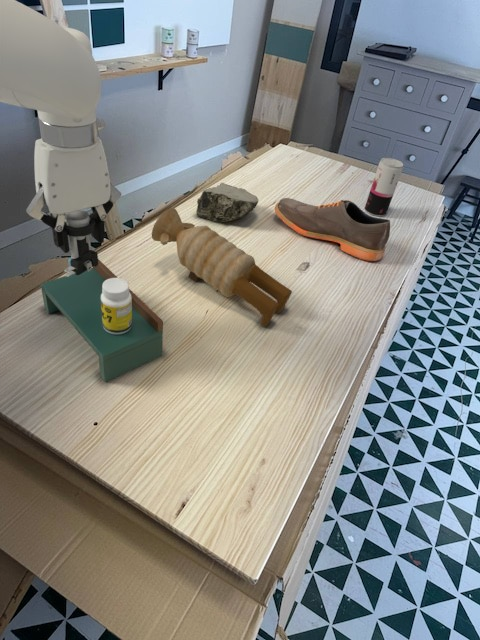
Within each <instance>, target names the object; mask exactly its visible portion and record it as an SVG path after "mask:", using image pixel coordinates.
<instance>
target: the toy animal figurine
mask: <svg viewBox="0 0 480 640" xmlns="http://www.w3.org/2000/svg"><path fill="white" fill-rule="evenodd" d="M151 239H152V240H153V241H154V242H160V244H161V245H162V246H166V245H168V243H174V242H175V243H176V251H177V258H178V261H179V263H180V265H181V266H183V267H185V268H186V269H187V270H188V271H189V274H188V278H189V279H190V280H192V281H193V282H195V283H197V282H199V281H200V280H201V279H202V280H203V282H204V283H206V284H208V285H210V286H211V287H212V288H213V289H214V290H215V291H216V293H218V292H220V294H221V295H222V296H224V297H227V298H231V297H233V296H235V295H236V296H238V297H239V298H241V299H242V300H243V301H245V302H246V303H248V305H251V306H252V307H253V308H254V309H255V310H257V311H258V313H259V314H260V315H261V316H262V320H261V322H260V326H262V327H263V328H265V327H267V326H268V325H269V324H270V323H271V321H272V319H273V317H274V315H275V314H277V315H279V314H280V313H281V312H282V311H283V310H284V309H285V307H286V305H287V303H288V301H289V299H290V297H291V295H292V294H293V291H292V290H291V289H290V288H288V287H287V286H286V285H284V284H282V283H281V282H280V281H278V280H276V279H275V278H274V277H273V276H271V275H270V274H268V273H267V272H265V271H264V269H261V267H259V266H258V265H257V264H256V260H255V258H254V256H252V255H250V254H248V253H246V252H245V251H244V250H243V249H241V248H240V247H238V246H237V245H235V244H234V243H233V242H231V241H229V240H228V239H227V238H225V237H224V236H221V235H220V234H219V233H218V232H217V231H215V230H213V229H211V228H210V227H209V226H208V225H197V226H195V224H193V223H191V222H183V221H182V219H181V216H180V214H179V212H178V210H177V208H174V207H171V208H168V209H165V210H164V211H162V213H161V214H160V215H159V217H158V218H157V219H156V221H155V222H154V224H153V227H152V230H151Z"/></svg>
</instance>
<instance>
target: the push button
mask: <svg viewBox="0 0 480 640" xmlns="http://www.w3.org/2000/svg"><path fill="white" fill-rule="evenodd" d="M94 225H95V219H94V217H92V216H91V215H90V213H88V212H87V211H85V210H83V209H82V210H77V211H73V212H68V213H66V217H65V222H64V228H65V229H66V230H67V233H68V240H69V247H70V252H71V254H70V257H69V258H68V259H67V263H68V267H67V268H65V269H64V270H63V272H65V274H64V276H66V277H69V276H71V275H72V274H73V275H74V274H76V275H80V274H82V273H83V272H85V271H86V270H87V271H88V272H89V271H90V270H92V268H93V266H95V267H96V266H97V265H98V259H99V255H98V252H97V251H95V250H93V247H92V246H91V245H92V244H91V236H90V235H91V233H92V232H93V231H94Z"/></svg>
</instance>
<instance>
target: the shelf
mask: <svg viewBox="0 0 480 640" xmlns="http://www.w3.org/2000/svg"><path fill="white" fill-rule="evenodd" d="M110 278H119V277H118V276H117V275H116V274H115V273H114V272H113V271H112V270H110V268H108V266H106V264H104V263H103V262H102V260H100V259H99V258H98V265H97V266H96V267H95V266H93V267H92V270H90V271H89V272H88V271H87V270H86V271H85V272H83V273H82V274H80V275H76V274H74V275H73V274H72V275H71V276H69V277H66V276H65V275H64V276H61V277H57V278H55V279H54V278H53V279H51V280H49V281H44V282H42V283H40V288H41V293H42V300H43V305H44V306H43V307H44V310H45V311H46V313H47V314H49V315H51V314H53V313H55V312H59V311H60V313H61V314H62V315H63V316H64V317H65V318H66V320H67V321H68V322H69V323H70V324H71V325H72V327H73V328H74V329H75V330H76V331H77V332H78V334H80V336H81V337H82V338H83V340H84V341H85V342H86V343H87V344H88V345H89V347H90V348H91V349H92V350H93V351H94V352H95V354H96V355H97V356H98V363H99V364H98V367H99V377H100V378H101V379H102V381H103V382H104V383H107V382H109V381H111V380H113V379H116V378H118V377H121V376H122V375H124V374H125V373H128V372H130V371H132V370H134V369H136V368H138V367H141V366H143V365H145V364H147V363H149V362H152V361H154V360H155V359H158V358H160V357H162V356H163V338H164V337H163V334H164V320H162V318H161V317H159V316H158V314H156V313H155V312H154V311H153V310H152V309H151V307H149V306H148V305H147V304H146V303H145V302H144V301H143V300H142V299H141V298H139V297H138V295H136V293H135V292H133V290H131V288H129V292H130V294H131V297H132V327H131V329H130V330H129V331H127V332H126V333H123V334H111V333H108V332H107V331H106V330H105V329H104V328H103V324H102V312H101V311H102V310H101V294H102V284H103V282H104V281H106V280H107V279H110Z"/></svg>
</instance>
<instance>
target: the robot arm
mask: <svg viewBox="0 0 480 640" xmlns="http://www.w3.org/2000/svg"><path fill="white" fill-rule="evenodd" d="M98 66H99V65H98V64H97V61H96V60H95V57H94V56H93V49H92V44H91V40H90V38H89V37H88V35H86V34H85V32H83V31H81V30H78V29H76V28H73V27H67V26H62V25H60V24H58V22H55V21H54V20H53V19H51V18H49V17H48V16H46V15H44V14H42V13H40V12H38V11H37V10H35V9H33V8H32V7H29V6H27V5H25V4H24V3H22V2H19V1H17V0H0V103H3V104H5V105H10V106H15V107H19V108H24V109H27V110H35V111H37V119H38V125H39V131H40V132H39V133H40V138H39V139H35V143H34V155H33V158H34V159H33V160H34V163H33V164H34V168H33V169H34V182H35V183H34V185H35V192H36V194H35V195H34V197H33V198H32V200H31V201H30V202H29V204H28V206H27V208H26V210H25V211H26V213H27V214H28V215H29V216H30V217H31V218H33V219H35V220H38V221H39V222H42V223H43V224H44V225H46V226H48V227H50V228H51V231H52V238H53V243H54V245H55V246H56V247H57V248H59V249H60V250H61V251H62V252H63V253H64V254H67V253H69V252H71V249H70V241H69V235H68V233H67V230H66V229H65V228H64V222H65V217H66V213H68V212H73V211H77V210H82V211H83V210H86V209H90V210H91V213H89V215H91V216H92V217H94V219H95V225H94V231H93V232H92V233H91V234H90V235H91V236H90V237H92V238H93V239H94V240H95V241H97V243H99V244H103V243H104V242H105V237H104V236H105V234H106V228H105V221H106V220H107V219H108V214H109V213H110V211H111V210H112V209H113V207H114V204H116V203H117V202H118V201H119V199H120V198H121V196H122V192H121V191H120V190H119V189H118V188H117V187H115V185H114V184H113V183H111V181H110V172H109V166H108V160H107V156H106V152H105V148H104V145H103V141H102V139H101V138H100V135H99V131H100V130H105V128H106V124H105V120H104V118H98V117H97V107H98V105H99V102H100V100H101V95H102V89H103V88H102V87H103V85H102V84H103V83H102V82H103V81H102V75H101V73H100V72H101V71H100V69H99V67H98ZM45 205H46V206H47V208H48V211H49V212H48V213H47V212H46V211H42V209H43V208H44V206H45Z"/></svg>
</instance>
